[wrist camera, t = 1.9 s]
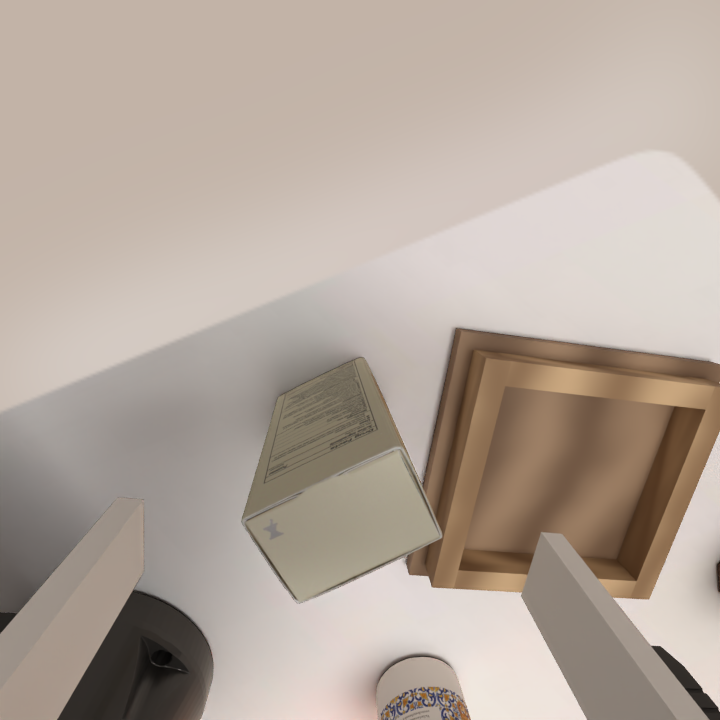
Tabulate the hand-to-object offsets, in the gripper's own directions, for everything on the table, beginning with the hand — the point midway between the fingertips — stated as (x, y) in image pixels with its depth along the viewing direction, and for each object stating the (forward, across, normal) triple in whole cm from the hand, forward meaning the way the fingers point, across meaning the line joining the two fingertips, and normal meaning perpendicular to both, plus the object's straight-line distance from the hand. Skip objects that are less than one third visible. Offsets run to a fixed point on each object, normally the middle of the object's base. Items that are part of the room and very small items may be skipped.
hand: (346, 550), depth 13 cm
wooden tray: (+13, -16, +3) cm, 20 cm away
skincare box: (+13, 0, 0) cm, 13 cm away
